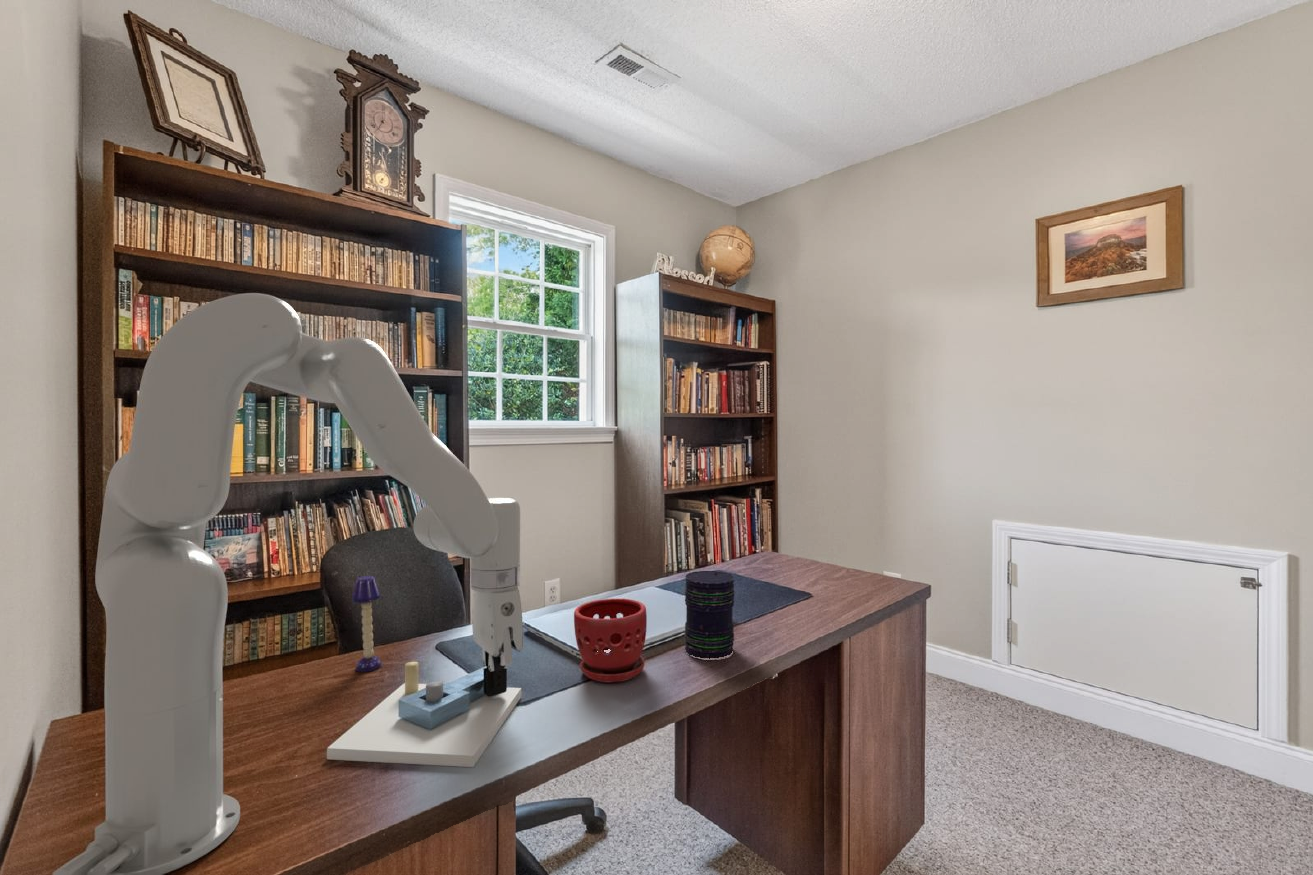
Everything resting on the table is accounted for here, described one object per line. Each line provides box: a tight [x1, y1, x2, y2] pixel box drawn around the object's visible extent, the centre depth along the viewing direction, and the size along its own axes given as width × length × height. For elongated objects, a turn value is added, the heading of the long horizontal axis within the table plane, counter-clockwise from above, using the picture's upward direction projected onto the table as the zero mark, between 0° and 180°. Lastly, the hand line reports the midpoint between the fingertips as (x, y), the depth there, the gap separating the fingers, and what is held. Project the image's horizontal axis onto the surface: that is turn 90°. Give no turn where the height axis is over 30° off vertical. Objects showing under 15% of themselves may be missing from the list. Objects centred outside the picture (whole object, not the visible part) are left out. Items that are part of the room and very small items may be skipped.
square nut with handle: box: [399, 666, 487, 729], centre depth 90 cm, size 16×7×2 cm, turn 150°
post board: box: [326, 661, 522, 768], centre depth 86 cm, size 20×20×6 cm
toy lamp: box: [351, 575, 382, 673], centre depth 107 cm, size 5×5×17 cm
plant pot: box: [573, 598, 648, 684], centre depth 105 cm, size 13×13×12 cm
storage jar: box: [684, 570, 735, 659], centre depth 116 cm, size 10×10×15 cm
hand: (495, 692), depth 92 cm, fingers closed
